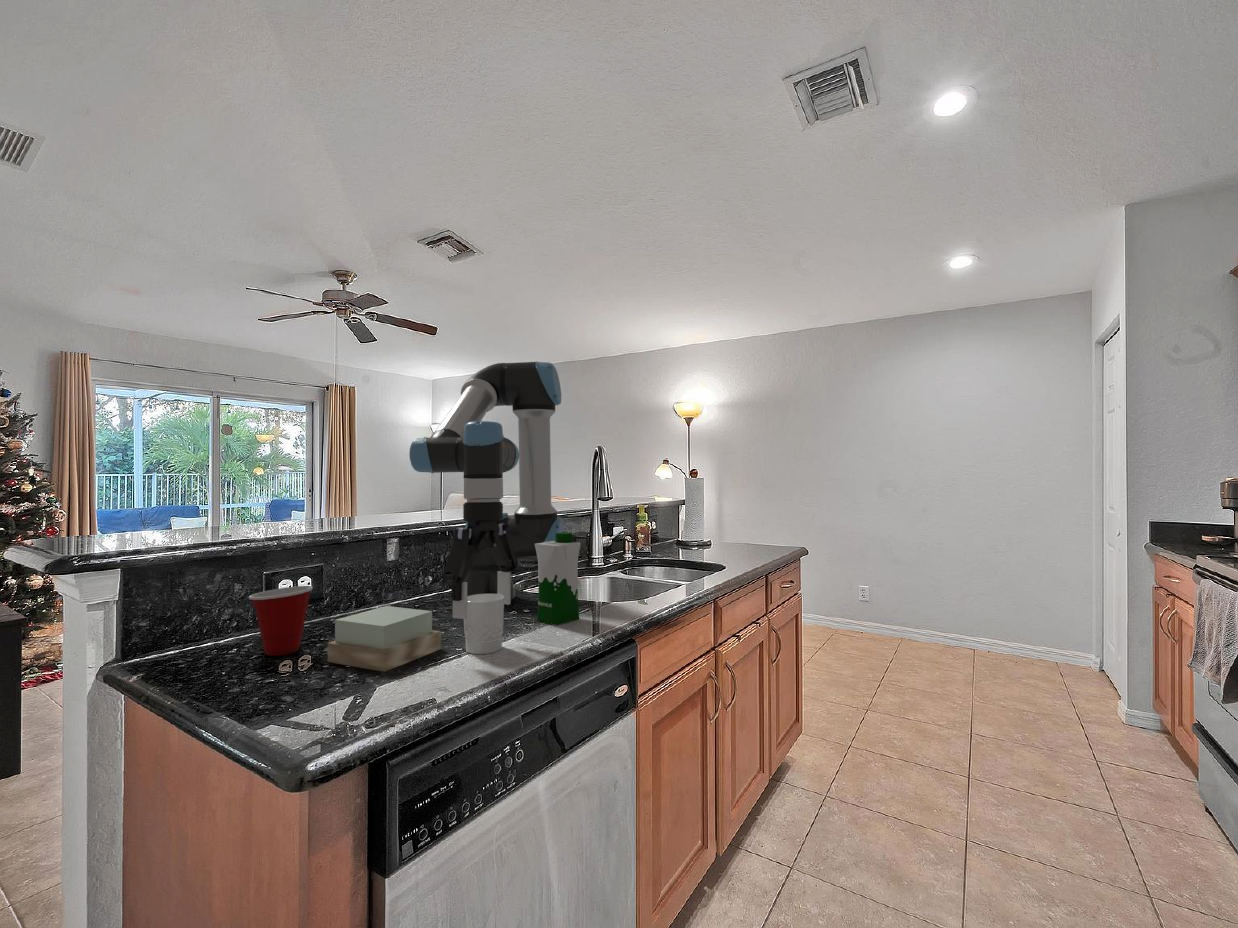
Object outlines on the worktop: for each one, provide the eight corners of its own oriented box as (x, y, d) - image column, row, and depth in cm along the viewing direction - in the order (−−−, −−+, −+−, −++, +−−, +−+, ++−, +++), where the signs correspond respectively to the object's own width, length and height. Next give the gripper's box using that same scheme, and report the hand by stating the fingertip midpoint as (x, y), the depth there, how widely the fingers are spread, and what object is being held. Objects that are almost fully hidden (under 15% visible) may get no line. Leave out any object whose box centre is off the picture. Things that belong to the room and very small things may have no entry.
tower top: (386, 625, 115) (386, 605, 115) (432, 631, 110) (432, 611, 110) (335, 641, 104) (335, 619, 104) (383, 649, 99) (383, 626, 100)
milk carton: (585, 619, 133) (584, 533, 133) (556, 627, 126) (555, 536, 126) (559, 613, 138) (558, 531, 139) (530, 620, 132) (530, 534, 132)
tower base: (387, 643, 116) (387, 624, 116) (440, 651, 111) (440, 631, 111) (327, 664, 104) (327, 642, 104) (384, 674, 98) (384, 651, 98)
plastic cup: (272, 642, 116) (273, 583, 116) (324, 643, 115) (324, 583, 115) (233, 660, 105) (234, 594, 105) (290, 660, 104) (290, 595, 105)
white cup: (490, 641, 116) (490, 591, 116) (512, 649, 110) (512, 597, 110) (455, 649, 110) (455, 597, 110) (476, 658, 104) (476, 603, 105)
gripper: (505, 499, 124) (505, 597, 123) (422, 502, 101) (421, 623, 100) (534, 499, 121) (534, 599, 120) (455, 502, 98) (455, 627, 97)
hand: (483, 610), depth 110 cm, fingers open, 13 cm apart
